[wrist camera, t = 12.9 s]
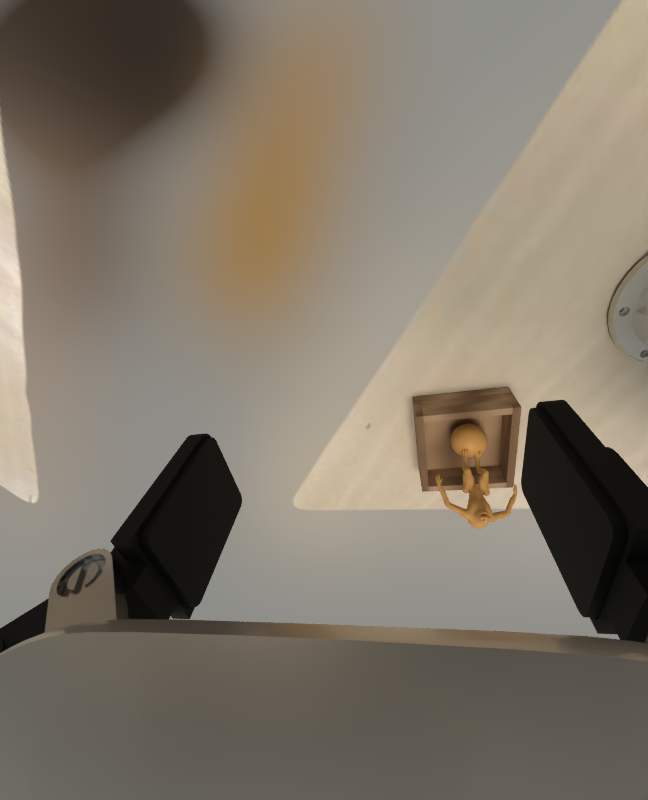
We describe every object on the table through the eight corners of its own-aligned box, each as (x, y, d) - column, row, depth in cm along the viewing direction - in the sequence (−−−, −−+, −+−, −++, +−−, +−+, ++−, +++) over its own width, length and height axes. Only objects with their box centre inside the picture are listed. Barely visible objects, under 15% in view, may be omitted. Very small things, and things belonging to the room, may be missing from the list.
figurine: (506, 421, 40) (548, 502, 30) (490, 459, 43) (522, 543, 33) (434, 412, 41) (451, 488, 31) (423, 450, 44) (435, 531, 34)
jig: (508, 386, 39) (521, 407, 36) (502, 463, 45) (513, 487, 42) (412, 397, 42) (416, 416, 38) (419, 468, 47) (422, 491, 44)
